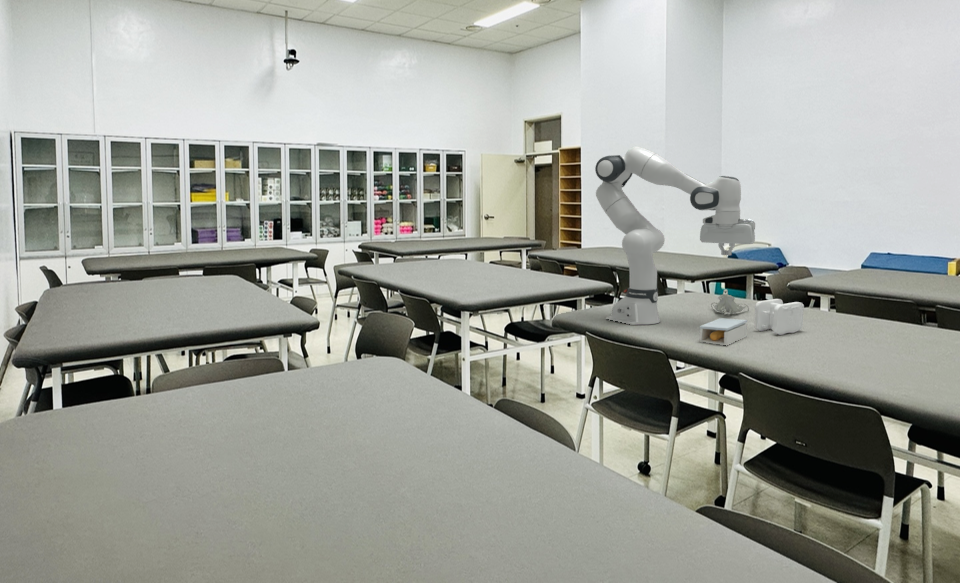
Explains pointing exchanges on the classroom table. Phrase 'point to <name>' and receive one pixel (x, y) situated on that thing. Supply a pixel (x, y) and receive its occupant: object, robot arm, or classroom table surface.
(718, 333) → the rod
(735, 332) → the duct
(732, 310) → the skeletal model
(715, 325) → the cover
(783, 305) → the cable organizer
